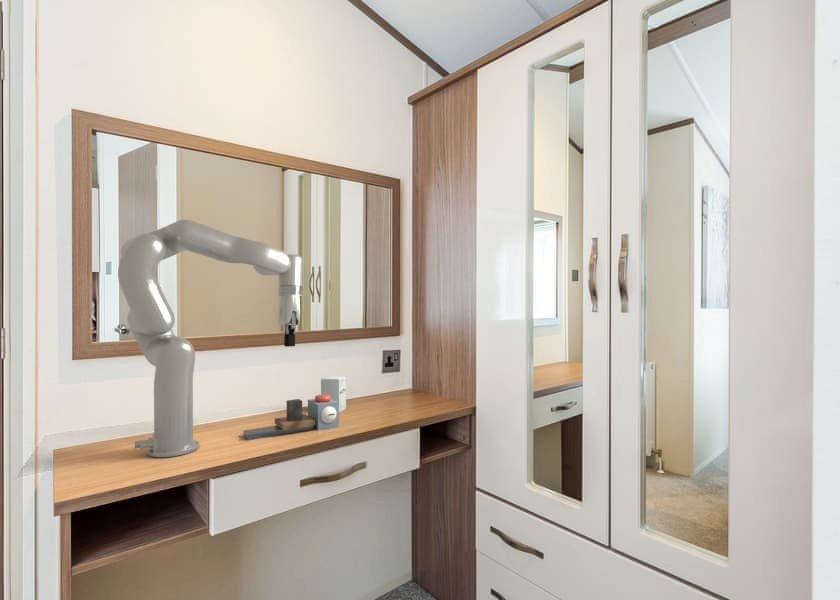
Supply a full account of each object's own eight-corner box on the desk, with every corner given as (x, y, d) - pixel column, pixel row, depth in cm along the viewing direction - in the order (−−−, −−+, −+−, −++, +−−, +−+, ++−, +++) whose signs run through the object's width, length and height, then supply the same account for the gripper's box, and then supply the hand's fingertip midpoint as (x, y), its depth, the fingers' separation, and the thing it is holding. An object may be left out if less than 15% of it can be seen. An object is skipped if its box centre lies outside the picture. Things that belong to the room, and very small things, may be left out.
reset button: (318, 402, 145) (318, 398, 145) (313, 400, 149) (313, 395, 149) (332, 400, 148) (332, 396, 148) (327, 398, 152) (327, 393, 152)
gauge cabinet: (318, 430, 142) (318, 405, 142) (307, 423, 151) (307, 399, 151) (339, 427, 146) (339, 402, 146) (327, 420, 154) (327, 397, 154)
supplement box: (339, 413, 164) (339, 379, 164) (320, 412, 165) (320, 378, 166) (346, 408, 171) (346, 375, 171) (328, 408, 173) (328, 375, 173)
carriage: (283, 430, 136) (283, 405, 136) (274, 423, 145) (274, 399, 145) (315, 425, 142) (314, 401, 142) (304, 418, 150) (304, 396, 150)
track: (247, 440, 133) (247, 435, 133) (243, 435, 138) (243, 430, 138) (313, 429, 143) (313, 424, 143) (306, 425, 148) (306, 420, 148)
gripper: (273, 292, 155) (272, 345, 154) (284, 290, 142) (283, 348, 141) (295, 292, 158) (294, 344, 158) (308, 291, 146) (307, 347, 145)
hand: (289, 346), depth 149 cm, fingers closed
